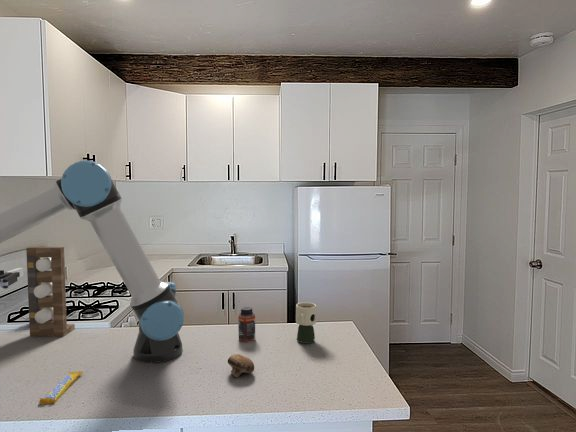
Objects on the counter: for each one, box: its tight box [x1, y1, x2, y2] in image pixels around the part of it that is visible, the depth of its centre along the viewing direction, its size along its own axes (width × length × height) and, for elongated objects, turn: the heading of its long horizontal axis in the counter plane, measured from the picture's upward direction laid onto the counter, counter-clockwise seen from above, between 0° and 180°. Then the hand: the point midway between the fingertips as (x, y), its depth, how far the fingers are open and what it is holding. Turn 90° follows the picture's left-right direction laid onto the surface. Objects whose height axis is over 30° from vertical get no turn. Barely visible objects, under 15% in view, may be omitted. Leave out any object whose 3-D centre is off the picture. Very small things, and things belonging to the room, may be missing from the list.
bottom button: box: [35, 308, 53, 323], centre depth 150 cm, size 6×4×4 cm
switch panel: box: [25, 246, 76, 338], centre depth 153 cm, size 9×12×32 cm
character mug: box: [295, 301, 317, 344], centre depth 147 cm, size 11×7×13 cm, turn 162°
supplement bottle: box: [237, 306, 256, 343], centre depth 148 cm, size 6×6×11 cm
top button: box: [36, 257, 52, 272], centre depth 151 cm, size 6×4×4 cm
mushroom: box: [227, 353, 255, 379], centre depth 121 cm, size 8×8×6 cm
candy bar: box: [38, 371, 84, 405], centre depth 112 cm, size 17×4×2 cm, turn 3°
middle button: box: [34, 283, 52, 298], centre depth 150 cm, size 6×4×4 cm
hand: (20, 272), depth 136 cm, fingers closed
